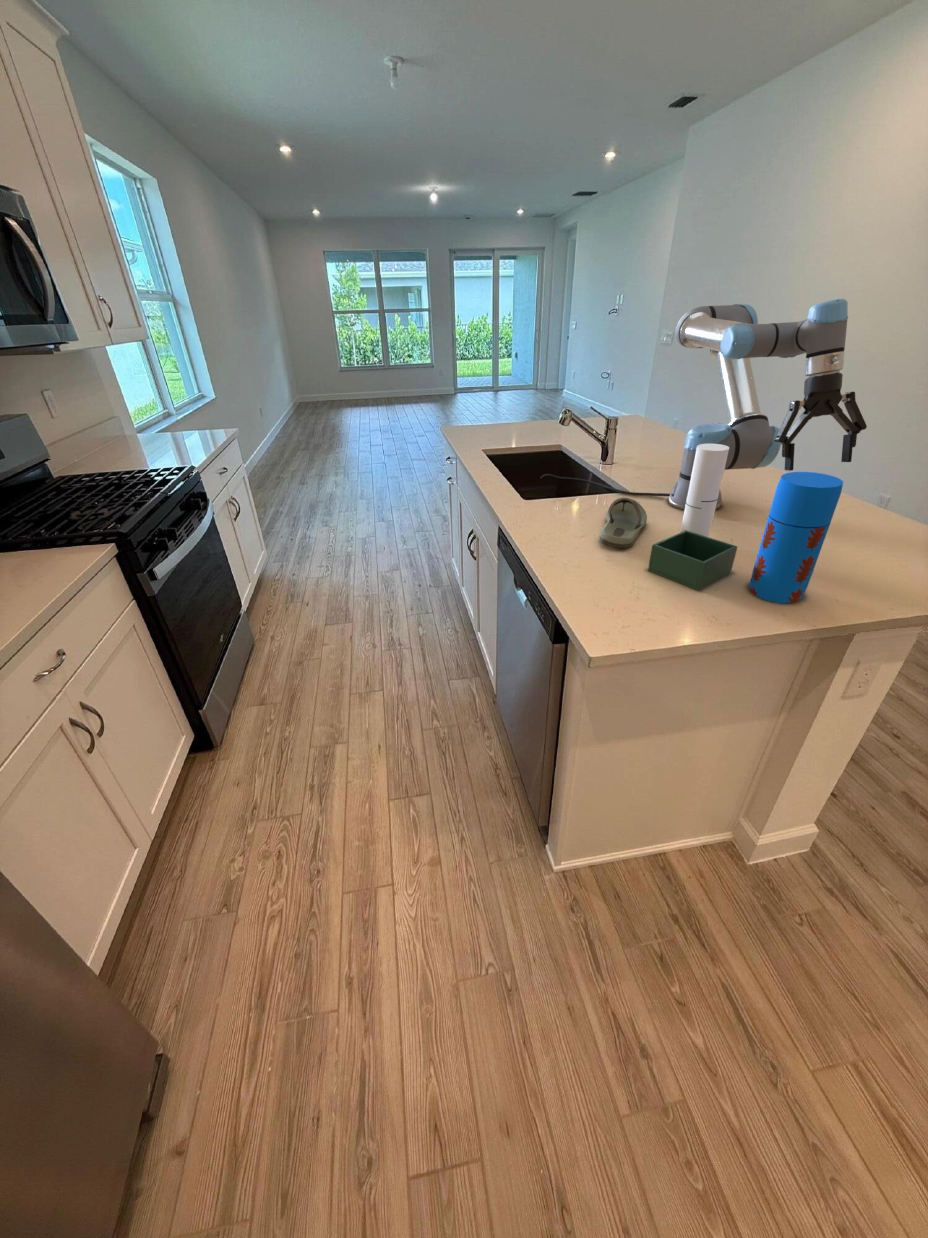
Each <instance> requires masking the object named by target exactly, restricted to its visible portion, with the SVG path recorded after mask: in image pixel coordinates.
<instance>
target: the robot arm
mask: <svg viewBox="0 0 928 1238" xmlns="http://www.w3.org/2000/svg"><path fill="white" fill-rule="evenodd" d="M848 303H849V302H848V300H847V299H845V298H837V299H831V300H826V301H823V302H820V303H816V304H814V305H812V306H811V307H810V308H809V310H808V313H807V318H806V319H804V320H800V321H791V322H772V323H771V322H770V323H759V318H758V314H757V311H756V309H755V308H754V307H753V305H750V304H745V303H744V304H743V303H734V304H726V305H725V304H724V305H723V304H722V305H701V306H696V307H694V308H691V309H690V310H688V311H687V312H685V313H684V314H683V315H682V316H681V317H680V318H679V320H678V321H677V323H676V327H675V332H674V333H675V338H676V341H677V343H678V344H679V345H681V346H682V347H683V348H689V349H708V350H709V352H710V356H711V358H712V359H713V360H715V361H717V366H718V372H719V377H720V382H721V387H722V394H723V399H724V404H725V409H726V416H727V419H728V420H727V421H728V424H727V423H720V422H719V423H706V424H705V423H704V424H702V425H697V426H694V427H693V428H691V429H689V430H688V432H687V434H686V438H685V442H684V444H683V451H682V456H681V457H682V458H681V465H680V469H679V474H678V478H677V481H676V482H675V484H674V486H673V488H672V489H671V492H670V493H663V492H635V491H626V490H621V489H619V488H616V487H611V486H609V485H605V484H603V483H599V482H597V481H593V480H589V479H584V478H583V479H582V478H577V477H566V476H558V475H555V474H551V473H545V474H542V475H541V477H540V479H544V478H548V477H549V478H552V479H556V480H563V481H574V482H581V483H586V484H590V485H594V486H597V487H600V488H604V489H606V490H610V491H613V492H616V493H619V494H623V495H629V496H644V497H646V496H648V497H649V496H650V497H668V504H669V505H670V506H672V507H673V508H676V509H679V510H682V511H685V505H686V500H687V495H688V490H689V485H690V480H691V475H692V470H693V465H694V459H695V454H696V449H697V446H698V445H700V444H721V445H725V446H728V447H729V452H728V456H727V460H726V465H725V469H724V471H725V470H726V471H727V470H745V469H747V470H748V469H751V470H755V469H758V468H766V467H768V466H769V465H771V464H772V463H773V462H774V461H775V460H776V458H777V456H778V454H779V452H780V449H781V448H782V449H781V458H784V471H789V472H790V471H794V463H795V444H796V443H795V442H793V441H794V440H795V438H796V437H797V436H798V434H799V433H801V431H802V430H803V428H804V427H805V426H806V425H807V423H808V422H809V421H810V420H811V419H812V418H818V417H821V416H823V417H824V416H829V415H830V416H831V417H832V418H833V419H834V420H835V421H836V422H837V423H838V424H839V425H840V427H841V428H842V429H843V430H844V431H845V432H846V433H847V434H843V436H842V447H841V448H842V449H841V461H840V462H841V463H852V461H853V460H852V459H853V448H856V445H857V439H858V437H857V436H858V434H860V433H861V431H863V430H867V428H868V426H867V423H866V420H865V419H864V416H863V414H862V412H861V409H860V407H859V405H858V404H857V403H858V402H857V401H856V391H848V392H844V393H841V391H842V388H843V378H844V377H843V375H844V374H843V373H842V372H840V371H842V370H843V369H844V360H845V350H846V349H845V348H846V339H847V328H848V320H849V315H848ZM804 354H805V366H804V377H807V378H805V380H804V383H803V396H804V397H803V400H799V399H797V400H791V401H790V402H789V405H788V410H787V413H786V415H785V417H784V419H783V421H782V423H781V425H780V427H777V426H775V425H770V422H769V417H768V416H767V415H766V414H764V413H761V408H760V407H761V406H760V402H759V398H758V393H757V392H758V391H757V389H756V388H757V387H756V383H755V378H754V377H755V376H754V373H753V368H752V363H751V362H752V361H751V359H752V358H776V357H778V358H780V359H788V358H795V357H797V356H800V355H804ZM841 402H842V403H843V405H844V407H845V410H846V413H847V415H846V414H845V412H843V408H842V407H841V406H840V405H839V404H840V403H841ZM802 408H803V412H802V413H801V414H800V416H799V418H798V419H797V420H796V422H795V423H794V421H795V419H796V417H797V415H798V414H799V411H800V410H801V409H802ZM848 416H849V417H848ZM793 423H794V424H793ZM792 425H793V426H792ZM721 491H722V490H721V489H720V491H719V495H718V500H717V504H716V508H715V511H716V510H718V509H719V508H720V507H721V505H722V501H723V499H722V492H721Z"/></svg>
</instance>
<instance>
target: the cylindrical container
mask: <svg viewBox="0 0 928 1238" xmlns="http://www.w3.org/2000/svg"><path fill="white" fill-rule="evenodd" d="M728 452H729V447H728V446H725V445H721V444H700V445H698V446H697V449H696V454H695V459H694V465H693V470H692V475H691V480H690V485H689V490H688V495H687V500H686V505H685V510H683V516H682V520H681V521H682V522H681V527H680V532H683V531H685V530H687V531H690V532H693V533H696V534H700V535H703V536H706V537H709V538H710V534H711V530H712V526H713V522H714V517H715V512H716V510H715V508H716V504H717V500H718V495H719V491H720V490H721V486H722V481H723V478H724V473H725V470H724V469H725V465H726V460H727V456H728ZM680 532H679V533H680Z"/></svg>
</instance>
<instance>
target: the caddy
mask: <svg viewBox="0 0 928 1238" xmlns="http://www.w3.org/2000/svg"><path fill="white" fill-rule="evenodd" d="M738 547H739V546H737V545H734V544H731V543H729V542H726V541H722V540H718V539H715V538H712V537H710V536H709V537H706V536H703V535H700V534H696V533H693V532H690V531H687V530H685V531H683V532H679V533H678V532H677V533H676V534H674V535H671V536H668V537H667V538H665V539H663V540H660V541H658V542H656V543H653V544H652V545H651V550H650V556H649V561H648V568H647V571H648V572H650V573H654V574H655V575H658V576H660V577H663V578H666V579H669V580H670V581H673V582H676V583H679V584H680V585H683V586H686V587H688V588H690V589H694V590H696V591H700V590H702V589H704V588H705V587H708V586H710V585H711V584H713V583H714V582H717V581H718V580H720V579H722V578H723V577H726V576H727V575H729V574H731V573H732V569H733V567H734V562H735V558H736V555H737V551H738Z"/></svg>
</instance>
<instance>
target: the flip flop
mask: <svg viewBox="0 0 928 1238" xmlns="http://www.w3.org/2000/svg"><path fill="white" fill-rule="evenodd" d="M605 521H606V523H605V525H604V526H603V527H602V529H601V531H600V533H599V541H600V543H602V545H606V546H609V547H613V548H617V549H628V548H631V547H632V546H633V545H634V544H635V542H636V540H637V537H638V535H639V534H640V533H641V532H642V531H643V530H644V528H645V527H646V525H647V523H648V522H647V521H648V514H647V512H646V510H645V509H644V507H643V506H642V505H641V503H640V502H638V501H636V500H635V499H632V498H630V497H619V498H616V499H615V500H613V501H612V502H611V504H610V505H609V507H608V509H607V511H606V513H605Z"/></svg>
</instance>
